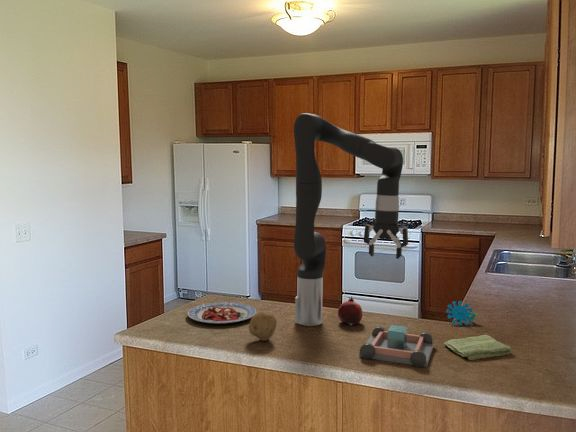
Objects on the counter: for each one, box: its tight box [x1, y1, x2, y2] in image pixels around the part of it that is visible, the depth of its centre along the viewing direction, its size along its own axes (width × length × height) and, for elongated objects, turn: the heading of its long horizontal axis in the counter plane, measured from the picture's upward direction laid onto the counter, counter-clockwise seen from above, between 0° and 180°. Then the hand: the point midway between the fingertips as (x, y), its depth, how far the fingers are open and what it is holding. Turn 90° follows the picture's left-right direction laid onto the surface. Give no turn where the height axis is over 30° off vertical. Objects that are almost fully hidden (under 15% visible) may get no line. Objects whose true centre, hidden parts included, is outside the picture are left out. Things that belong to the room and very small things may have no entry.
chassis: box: [358, 325, 434, 368], centre depth 162 cm, size 20×19×4 cm
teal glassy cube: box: [387, 324, 408, 350], centre depth 162 cm, size 5×6×6 cm
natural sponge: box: [248, 310, 278, 342], centre depth 171 cm, size 9×9×10 cm
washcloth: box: [443, 334, 513, 361], centre depth 164 cm, size 13×18×3 cm
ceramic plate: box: [187, 301, 257, 325], centre depth 197 cm, size 26×26×3 cm
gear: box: [445, 300, 478, 327], centre depth 192 cm, size 11×6×10 cm
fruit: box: [337, 295, 363, 327], centre depth 189 cm, size 9×10×10 cm
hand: (384, 257), depth 172 cm, fingers open, 8 cm apart
